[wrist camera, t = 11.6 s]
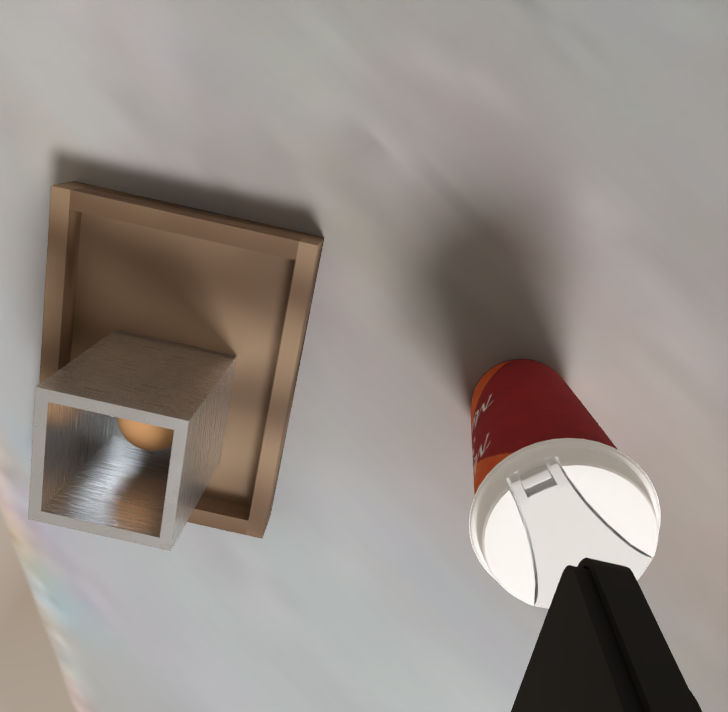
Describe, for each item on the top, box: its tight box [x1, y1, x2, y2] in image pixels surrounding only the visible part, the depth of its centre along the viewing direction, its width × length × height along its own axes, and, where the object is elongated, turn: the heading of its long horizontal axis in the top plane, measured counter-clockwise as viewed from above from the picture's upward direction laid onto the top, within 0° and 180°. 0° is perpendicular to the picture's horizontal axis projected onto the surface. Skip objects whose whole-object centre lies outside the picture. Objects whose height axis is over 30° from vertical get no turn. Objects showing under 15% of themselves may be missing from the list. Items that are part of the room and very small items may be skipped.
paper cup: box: [469, 359, 660, 609], centre depth 34 cm, size 8×8×14 cm
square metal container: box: [28, 329, 237, 551], centre depth 37 cm, size 7×7×9 cm
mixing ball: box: [117, 417, 174, 451], centre depth 39 cm, size 4×4×4 cm
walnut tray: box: [39, 182, 324, 538], centre depth 40 cm, size 18×14×2 cm
